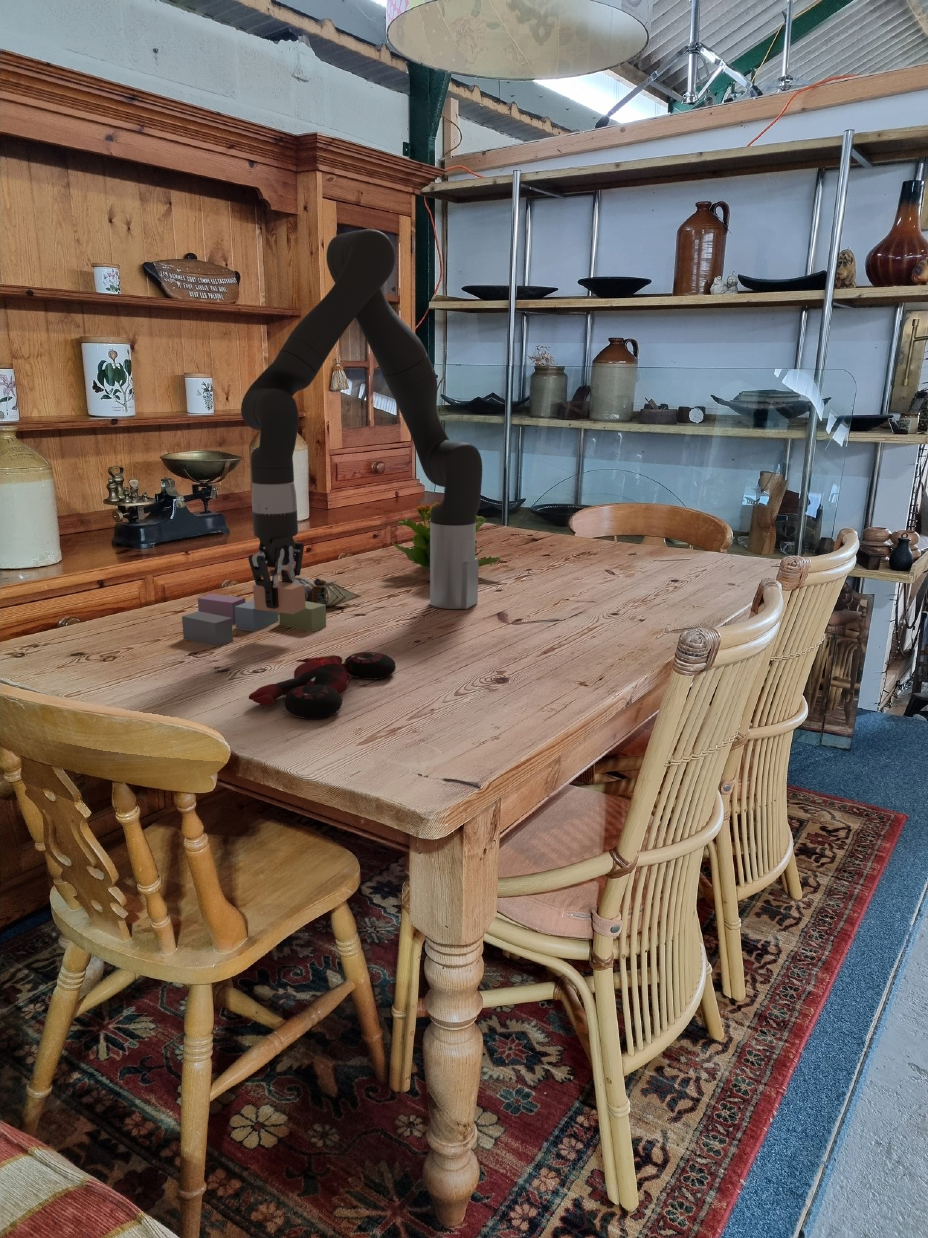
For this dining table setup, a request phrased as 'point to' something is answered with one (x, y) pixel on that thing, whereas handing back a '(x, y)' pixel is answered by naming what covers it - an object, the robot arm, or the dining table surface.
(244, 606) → the slate blue brick
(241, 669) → the dining table surface
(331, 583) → the figurine
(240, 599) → the plum brick
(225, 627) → the charcoal brick
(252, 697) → the toy motorcycle
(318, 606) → the olive brick
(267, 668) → the dining table surface
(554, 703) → the dining table surface
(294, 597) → the terracotta brick
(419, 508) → the potted flower
